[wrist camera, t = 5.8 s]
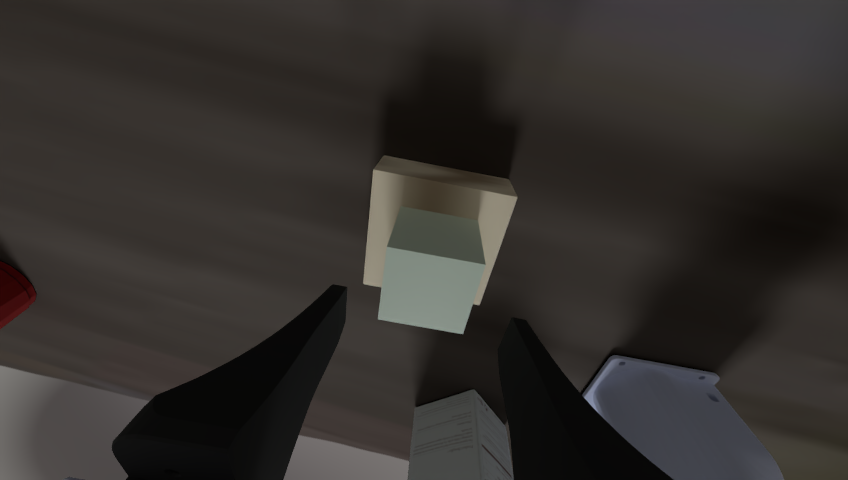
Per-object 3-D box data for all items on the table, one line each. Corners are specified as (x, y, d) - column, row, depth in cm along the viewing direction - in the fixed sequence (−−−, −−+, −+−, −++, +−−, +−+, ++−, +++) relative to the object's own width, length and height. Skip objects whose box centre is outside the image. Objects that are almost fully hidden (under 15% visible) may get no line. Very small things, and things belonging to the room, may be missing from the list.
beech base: (508, 179, 19) (517, 197, 17) (476, 278, 23) (479, 305, 21) (383, 155, 19) (373, 169, 16) (372, 259, 23) (363, 283, 21)
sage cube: (478, 220, 18) (485, 264, 14) (460, 281, 20) (462, 334, 16) (401, 206, 17) (386, 246, 14) (392, 268, 20) (378, 319, 16)
